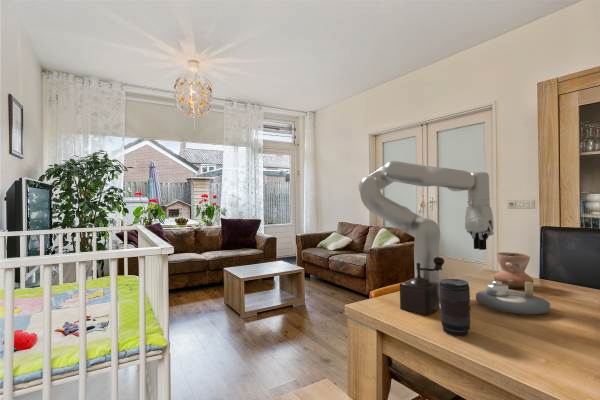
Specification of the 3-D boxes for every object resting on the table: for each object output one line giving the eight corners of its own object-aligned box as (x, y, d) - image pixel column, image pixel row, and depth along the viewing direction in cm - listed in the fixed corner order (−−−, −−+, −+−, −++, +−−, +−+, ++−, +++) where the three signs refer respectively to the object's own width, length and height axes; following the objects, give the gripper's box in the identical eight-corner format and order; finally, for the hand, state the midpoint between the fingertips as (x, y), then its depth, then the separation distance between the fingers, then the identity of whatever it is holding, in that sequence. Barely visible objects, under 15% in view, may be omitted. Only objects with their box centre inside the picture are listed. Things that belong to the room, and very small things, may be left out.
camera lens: (444, 324, 98) (443, 276, 98) (473, 330, 93) (472, 280, 93) (436, 333, 92) (435, 282, 92) (467, 340, 86) (466, 286, 87)
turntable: (515, 317, 98) (515, 296, 98) (462, 297, 119) (461, 280, 119) (567, 309, 104) (566, 290, 104) (507, 291, 125) (506, 275, 125)
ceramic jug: (529, 293, 127) (529, 258, 127) (489, 286, 138) (489, 254, 138) (537, 285, 140) (537, 253, 140) (499, 279, 150) (499, 250, 150)
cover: (498, 297, 113) (497, 284, 113) (482, 292, 119) (481, 280, 120) (513, 295, 115) (512, 282, 115) (496, 291, 121) (496, 278, 121)
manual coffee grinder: (429, 316, 104) (428, 263, 104) (399, 309, 112) (398, 259, 112) (447, 305, 115) (446, 256, 115) (419, 299, 123) (418, 253, 123)
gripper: (456, 203, 131) (457, 247, 131) (487, 203, 116) (489, 252, 116) (470, 203, 133) (472, 246, 133) (503, 203, 118) (505, 251, 118)
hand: (480, 248), depth 124 cm, fingers closed
